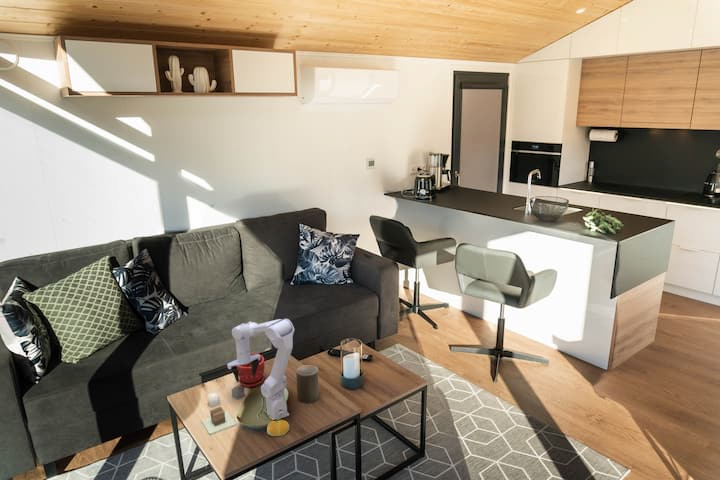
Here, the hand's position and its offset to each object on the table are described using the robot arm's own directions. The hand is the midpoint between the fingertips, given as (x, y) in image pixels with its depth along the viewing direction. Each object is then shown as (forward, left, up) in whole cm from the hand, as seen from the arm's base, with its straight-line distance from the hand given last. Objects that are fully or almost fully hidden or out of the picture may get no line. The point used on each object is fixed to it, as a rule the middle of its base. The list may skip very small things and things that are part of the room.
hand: (245, 378), depth 219 cm
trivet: (-10, +17, -10) cm, 22 cm away
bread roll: (-29, -1, -11) cm, 31 cm away
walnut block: (-10, +17, -10) cm, 22 cm away
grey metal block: (+4, +3, -10) cm, 12 cm away
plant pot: (+12, -7, -11) cm, 17 cm away
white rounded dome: (+5, +14, -10) cm, 18 cm away
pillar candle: (-15, -23, -11) cm, 29 cm away
